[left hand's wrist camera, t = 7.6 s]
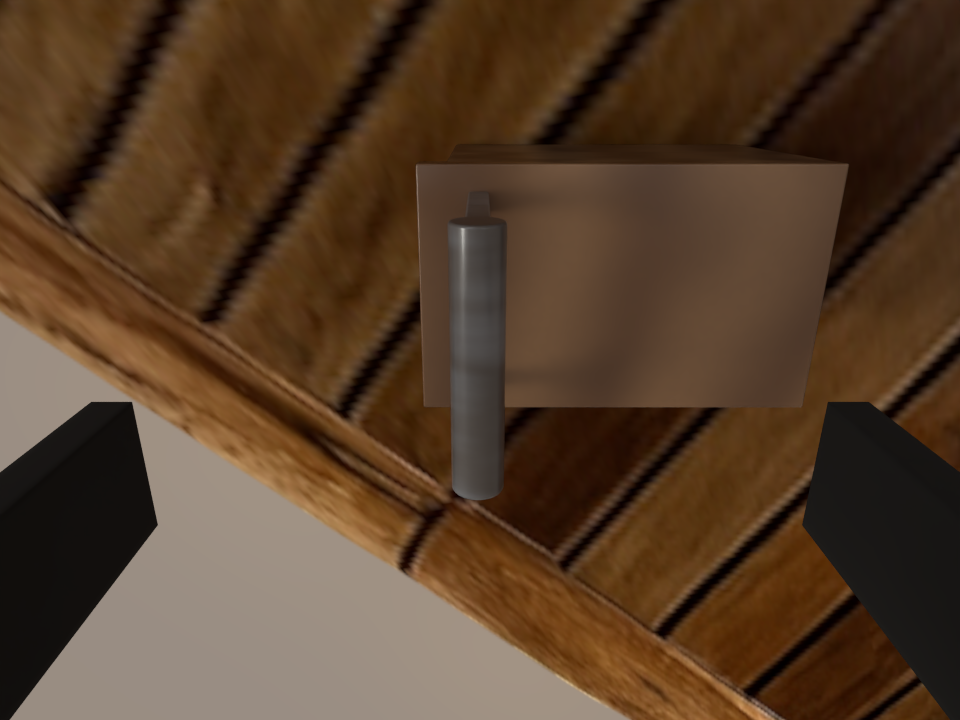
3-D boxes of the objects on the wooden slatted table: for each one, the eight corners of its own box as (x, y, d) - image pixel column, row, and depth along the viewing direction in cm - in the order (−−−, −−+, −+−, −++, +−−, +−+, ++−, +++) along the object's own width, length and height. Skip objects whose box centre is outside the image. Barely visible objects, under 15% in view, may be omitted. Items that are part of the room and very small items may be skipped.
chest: (458, 322, 36) (450, 397, 27) (455, 144, 32) (446, 161, 23) (712, 322, 36) (792, 397, 27) (736, 144, 32) (836, 161, 23)
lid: (425, 397, 27) (401, 524, 19) (417, 161, 23) (385, 192, 15) (792, 398, 27) (925, 525, 19) (837, 161, 23) (1021, 192, 15)
